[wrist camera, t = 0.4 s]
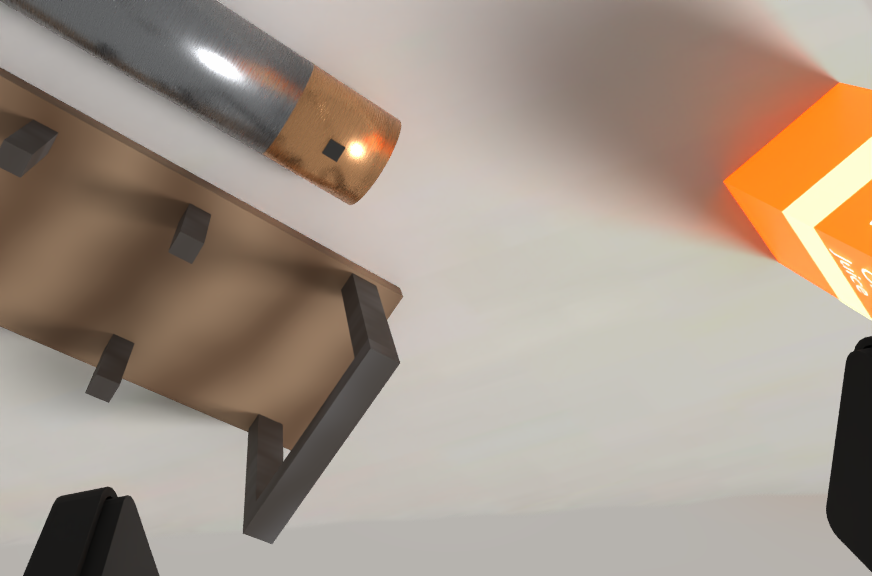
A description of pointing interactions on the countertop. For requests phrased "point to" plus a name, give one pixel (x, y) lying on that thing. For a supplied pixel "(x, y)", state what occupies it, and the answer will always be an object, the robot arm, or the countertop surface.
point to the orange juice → (818, 195)
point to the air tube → (235, 83)
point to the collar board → (186, 295)
